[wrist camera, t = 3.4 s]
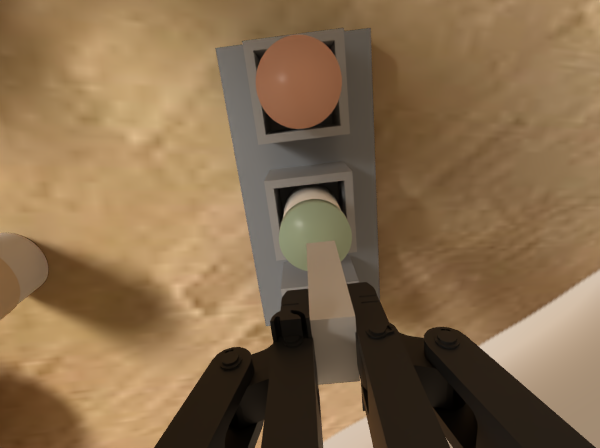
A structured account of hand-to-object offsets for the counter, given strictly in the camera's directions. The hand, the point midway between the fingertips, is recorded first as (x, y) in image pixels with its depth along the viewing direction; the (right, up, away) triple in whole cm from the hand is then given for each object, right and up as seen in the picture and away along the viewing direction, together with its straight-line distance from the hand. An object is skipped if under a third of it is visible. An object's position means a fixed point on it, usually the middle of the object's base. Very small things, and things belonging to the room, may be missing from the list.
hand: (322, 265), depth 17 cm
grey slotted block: (0, +5, +15) cm, 15 cm away
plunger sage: (0, +3, +9) cm, 9 cm away
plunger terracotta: (-1, +12, +6) cm, 13 cm away
